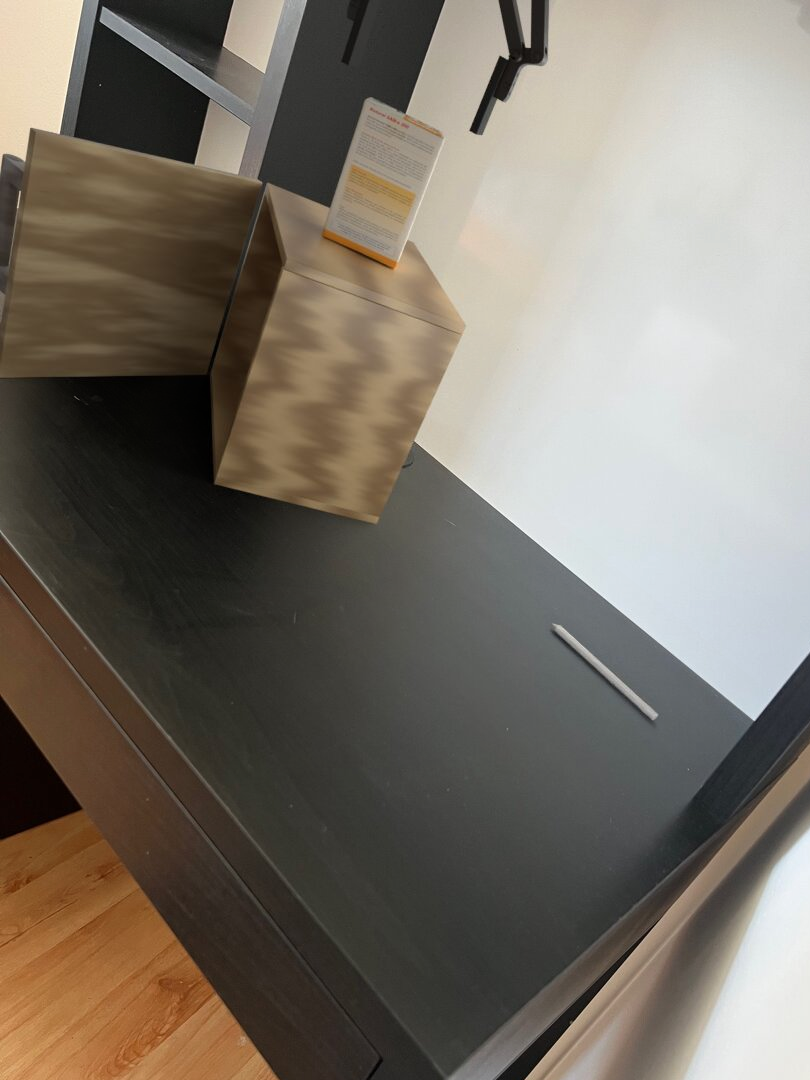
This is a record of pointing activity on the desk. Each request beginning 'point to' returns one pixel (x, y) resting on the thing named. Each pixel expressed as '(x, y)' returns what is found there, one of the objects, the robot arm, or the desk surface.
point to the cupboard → (325, 364)
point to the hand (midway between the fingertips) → (412, 99)
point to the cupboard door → (115, 259)
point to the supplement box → (382, 182)
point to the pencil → (606, 672)
